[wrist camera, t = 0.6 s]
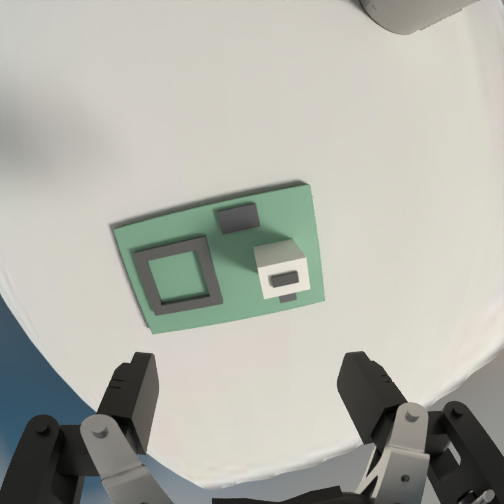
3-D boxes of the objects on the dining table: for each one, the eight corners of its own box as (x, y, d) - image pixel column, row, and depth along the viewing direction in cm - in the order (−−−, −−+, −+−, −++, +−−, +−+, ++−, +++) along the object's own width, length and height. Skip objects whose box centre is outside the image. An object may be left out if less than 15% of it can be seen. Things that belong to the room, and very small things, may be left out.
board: (307, 183, 29) (312, 185, 28) (322, 297, 34) (326, 304, 32) (116, 227, 29) (110, 231, 28) (154, 329, 34) (150, 337, 32)
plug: (292, 238, 30) (307, 258, 24) (297, 271, 32) (312, 297, 26) (252, 246, 30) (257, 269, 24) (259, 280, 32) (265, 308, 26)
